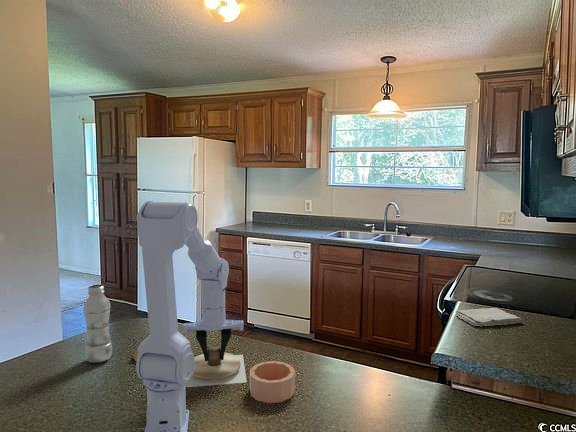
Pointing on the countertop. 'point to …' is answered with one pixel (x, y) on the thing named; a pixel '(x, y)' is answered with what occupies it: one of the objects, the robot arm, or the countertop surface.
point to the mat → (232, 379)
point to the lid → (215, 365)
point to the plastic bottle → (97, 325)
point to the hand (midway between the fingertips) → (214, 358)
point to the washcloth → (487, 315)
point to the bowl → (272, 381)
